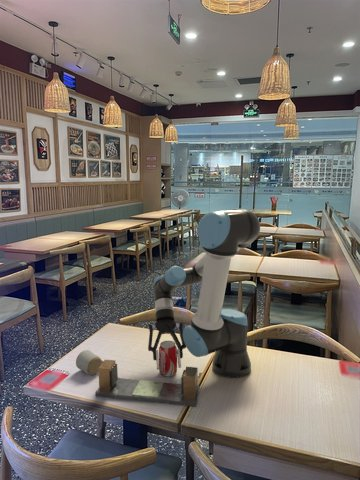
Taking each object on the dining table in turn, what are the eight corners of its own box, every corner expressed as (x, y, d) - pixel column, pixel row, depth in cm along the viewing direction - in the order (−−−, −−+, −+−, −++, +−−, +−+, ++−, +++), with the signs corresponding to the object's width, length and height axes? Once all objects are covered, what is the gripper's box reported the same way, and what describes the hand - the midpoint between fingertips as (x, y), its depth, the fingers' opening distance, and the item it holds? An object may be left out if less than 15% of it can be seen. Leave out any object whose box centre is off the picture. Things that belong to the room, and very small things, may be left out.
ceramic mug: (88, 379, 132) (87, 360, 131) (75, 372, 137) (74, 353, 136) (110, 368, 140) (110, 350, 139) (97, 361, 146) (97, 344, 144)
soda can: (177, 377, 133) (176, 348, 131) (158, 377, 133) (157, 348, 131) (177, 368, 139) (177, 339, 138) (159, 368, 140) (159, 339, 138)
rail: (199, 389, 125) (199, 364, 123) (195, 407, 115) (195, 380, 114) (106, 380, 131) (105, 356, 130) (95, 396, 122) (94, 370, 120)
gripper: (187, 313, 150) (194, 368, 136) (139, 316, 147) (141, 372, 134) (189, 306, 144) (196, 362, 130) (139, 309, 141) (141, 366, 128)
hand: (168, 367), depth 132 cm, fingers open, 8 cm apart
